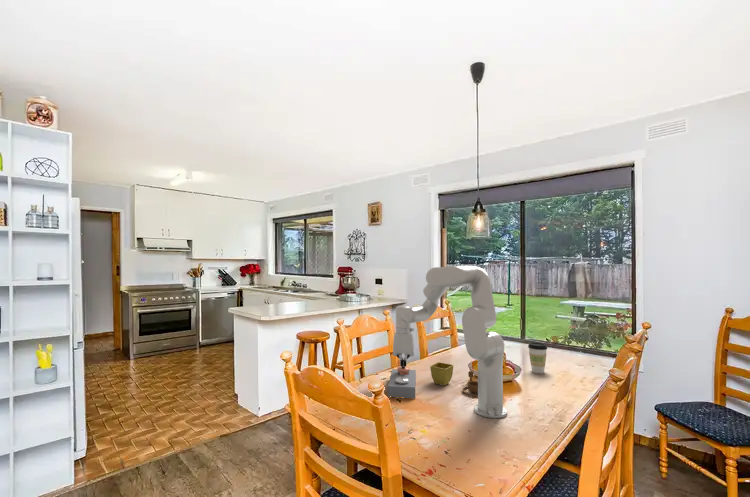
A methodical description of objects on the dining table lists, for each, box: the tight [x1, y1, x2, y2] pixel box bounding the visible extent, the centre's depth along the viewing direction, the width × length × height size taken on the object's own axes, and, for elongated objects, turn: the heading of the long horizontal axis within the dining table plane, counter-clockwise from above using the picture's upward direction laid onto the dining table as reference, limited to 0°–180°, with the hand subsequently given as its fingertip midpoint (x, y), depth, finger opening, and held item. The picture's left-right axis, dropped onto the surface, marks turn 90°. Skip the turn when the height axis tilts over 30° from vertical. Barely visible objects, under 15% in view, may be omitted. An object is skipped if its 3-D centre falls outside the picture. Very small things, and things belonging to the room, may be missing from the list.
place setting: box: [461, 370, 478, 398], centre depth 166 cm, size 18×20×6 cm
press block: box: [387, 368, 417, 399], centre depth 169 cm, size 26×12×5 cm, turn 173°
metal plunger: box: [396, 377, 409, 384], centre depth 162 cm, size 6×6×6 cm
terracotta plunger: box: [396, 365, 410, 375], centre depth 176 cm, size 6×6×6 cm
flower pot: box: [429, 361, 454, 386], centre depth 175 cm, size 9×9×9 cm
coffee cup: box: [527, 342, 548, 374], centre depth 196 cm, size 10×10×15 cm
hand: (403, 367), depth 176 cm, fingers closed
